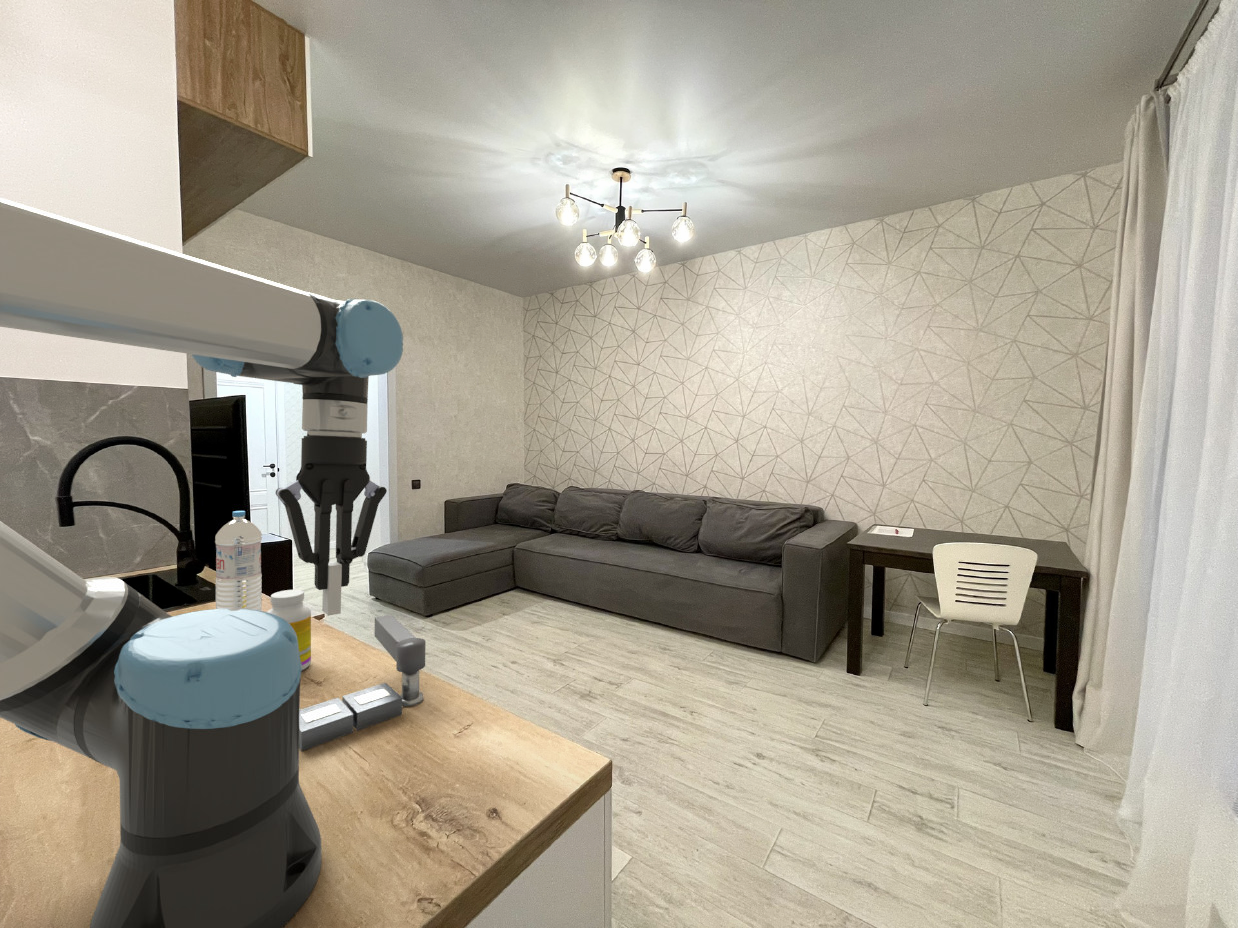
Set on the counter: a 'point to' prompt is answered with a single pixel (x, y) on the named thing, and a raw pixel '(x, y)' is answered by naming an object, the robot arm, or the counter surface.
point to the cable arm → (400, 644)
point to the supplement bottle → (295, 619)
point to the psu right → (373, 705)
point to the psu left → (324, 723)
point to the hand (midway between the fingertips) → (331, 611)
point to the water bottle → (238, 565)
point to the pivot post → (411, 689)
